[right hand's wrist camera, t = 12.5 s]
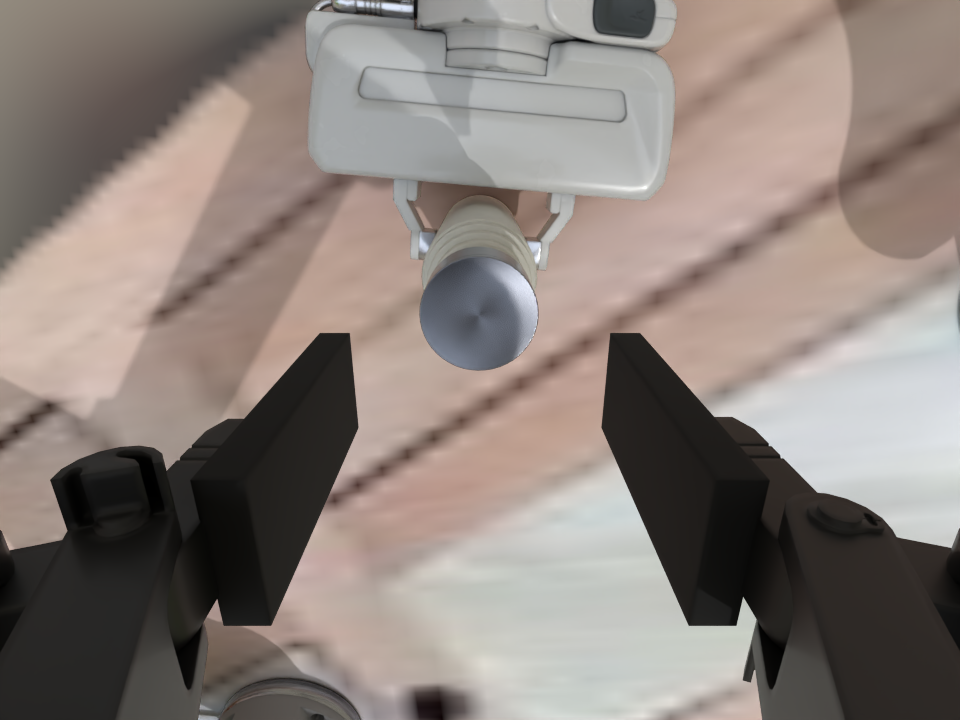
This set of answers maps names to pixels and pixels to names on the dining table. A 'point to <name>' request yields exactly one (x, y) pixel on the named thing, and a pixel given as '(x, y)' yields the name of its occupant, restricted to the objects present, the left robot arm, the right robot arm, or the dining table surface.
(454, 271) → the cap
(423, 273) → the bottle
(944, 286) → the dining table surface
